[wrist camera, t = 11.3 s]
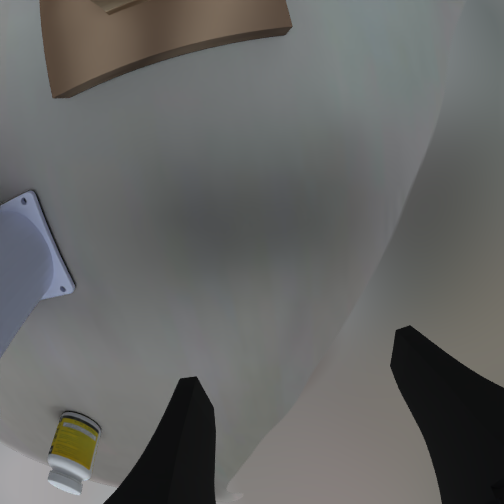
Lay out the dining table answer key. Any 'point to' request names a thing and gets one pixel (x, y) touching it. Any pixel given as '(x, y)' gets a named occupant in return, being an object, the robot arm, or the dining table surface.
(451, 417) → the robot arm
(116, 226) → the dining table surface
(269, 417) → the dining table surface
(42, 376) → the dining table surface
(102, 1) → the beige block
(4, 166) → the dining table surface
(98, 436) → the supplement bottle
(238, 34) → the dock
